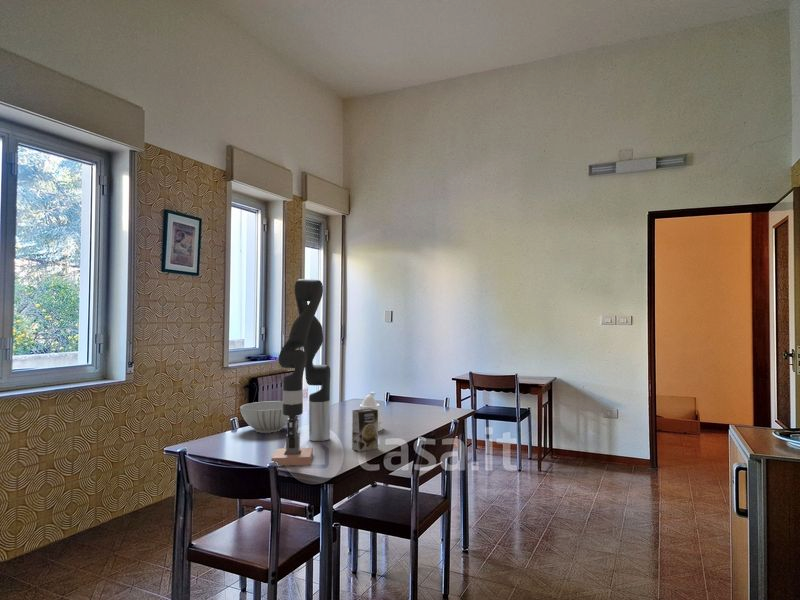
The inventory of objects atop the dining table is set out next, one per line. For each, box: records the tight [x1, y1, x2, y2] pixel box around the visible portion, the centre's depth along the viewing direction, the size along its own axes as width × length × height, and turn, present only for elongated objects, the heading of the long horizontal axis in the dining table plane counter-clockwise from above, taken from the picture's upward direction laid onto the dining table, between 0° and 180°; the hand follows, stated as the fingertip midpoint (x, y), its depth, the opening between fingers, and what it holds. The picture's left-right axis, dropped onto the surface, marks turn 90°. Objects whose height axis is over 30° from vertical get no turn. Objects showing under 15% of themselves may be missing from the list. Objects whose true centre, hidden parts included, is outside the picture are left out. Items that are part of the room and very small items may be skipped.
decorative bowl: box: [239, 400, 289, 434], centre depth 251 cm, size 27×27×12 cm
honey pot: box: [359, 391, 383, 432], centre depth 252 cm, size 13×13×18 cm
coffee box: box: [351, 408, 379, 452], centre depth 213 cm, size 9×6×16 cm
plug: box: [285, 432, 301, 455], centre depth 197 cm, size 5×5×10 cm
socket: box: [270, 447, 314, 467], centre depth 197 cm, size 14×14×3 cm
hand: (292, 445), depth 197 cm, fingers open, 5 cm apart
